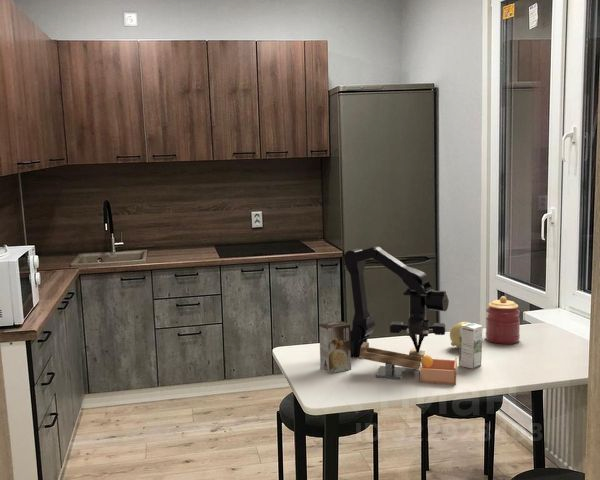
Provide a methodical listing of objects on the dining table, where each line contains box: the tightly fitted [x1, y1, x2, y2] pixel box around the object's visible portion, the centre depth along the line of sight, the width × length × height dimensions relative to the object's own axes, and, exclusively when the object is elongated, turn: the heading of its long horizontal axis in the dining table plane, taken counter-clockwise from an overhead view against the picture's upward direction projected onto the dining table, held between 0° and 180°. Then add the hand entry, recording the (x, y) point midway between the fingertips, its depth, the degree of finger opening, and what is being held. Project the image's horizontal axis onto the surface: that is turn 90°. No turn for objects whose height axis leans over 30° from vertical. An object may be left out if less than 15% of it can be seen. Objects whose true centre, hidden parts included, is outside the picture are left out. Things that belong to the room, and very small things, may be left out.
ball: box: [420, 355, 434, 368], centre depth 213 cm, size 4×4×4 cm
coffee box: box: [318, 320, 352, 375], centre depth 221 cm, size 9×6×16 cm
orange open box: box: [419, 357, 458, 386], centre depth 212 cm, size 11×11×6 cm
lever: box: [358, 341, 426, 371], centre depth 220 cm, size 20×16×4 cm
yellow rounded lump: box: [449, 321, 470, 348], centre depth 243 cm, size 10×12×11 cm
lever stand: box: [375, 363, 405, 381], centre depth 216 cm, size 8×10×5 cm
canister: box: [485, 295, 521, 345], centre depth 253 cm, size 13×13×18 cm
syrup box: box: [458, 322, 484, 370], centre depth 223 cm, size 6×6×14 cm
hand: (417, 351), depth 224 cm, fingers closed, pressing on lever
